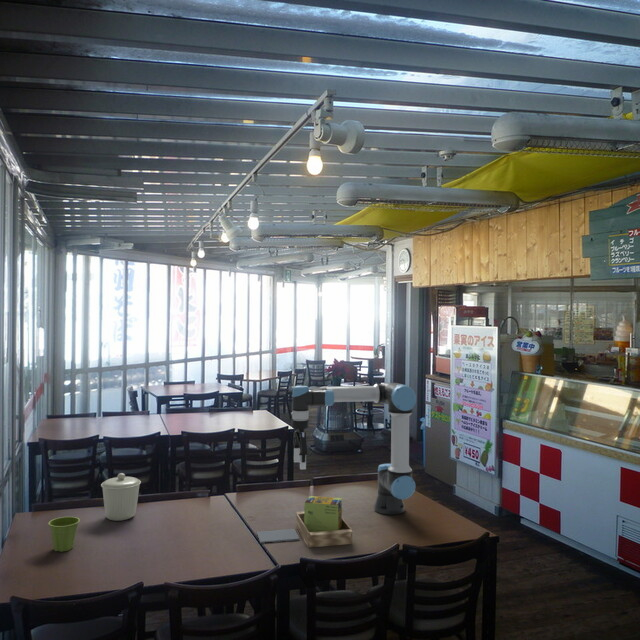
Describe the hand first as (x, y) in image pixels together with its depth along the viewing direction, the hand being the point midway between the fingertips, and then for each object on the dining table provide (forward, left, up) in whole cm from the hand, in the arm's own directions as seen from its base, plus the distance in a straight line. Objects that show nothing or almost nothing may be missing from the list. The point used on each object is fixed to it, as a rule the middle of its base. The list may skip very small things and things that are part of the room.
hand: (299, 465), depth 265 cm
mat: (+12, +11, -28) cm, 32 cm away
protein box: (-8, +13, -28) cm, 32 cm away
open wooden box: (-8, +13, -28) cm, 32 cm away
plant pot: (+100, +5, -28) cm, 104 cm away
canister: (+81, -30, -28) cm, 91 cm away
